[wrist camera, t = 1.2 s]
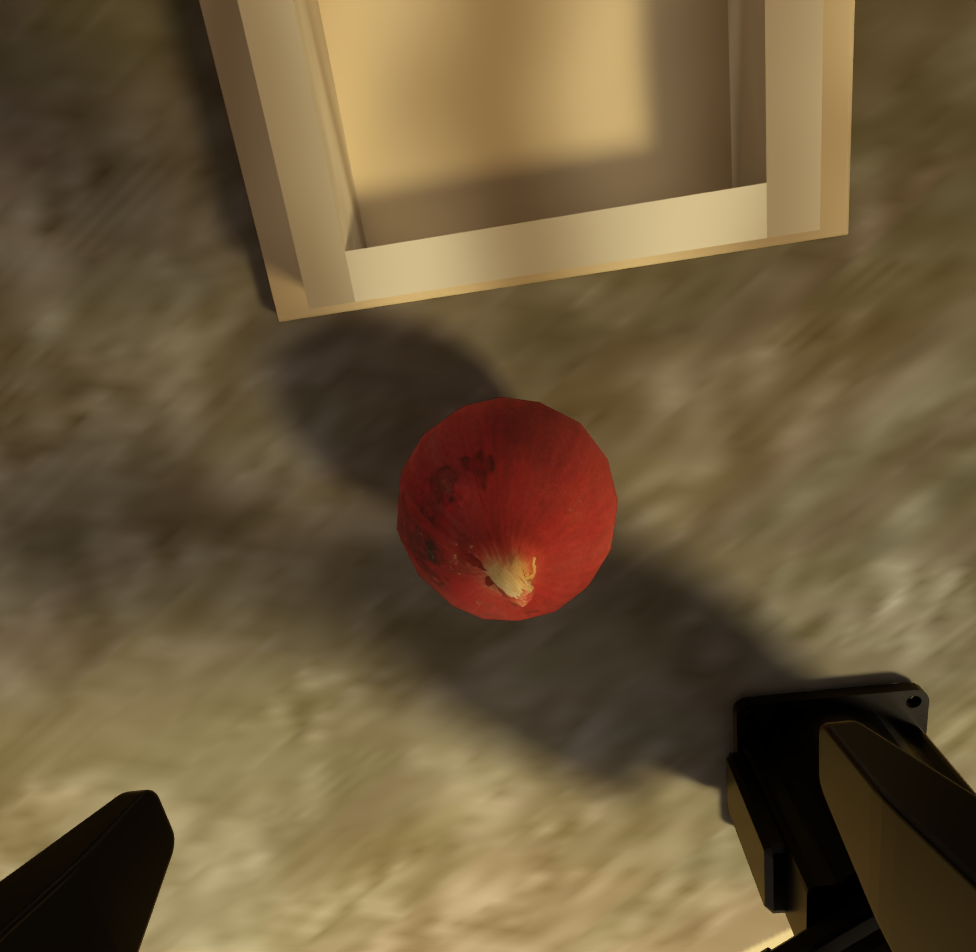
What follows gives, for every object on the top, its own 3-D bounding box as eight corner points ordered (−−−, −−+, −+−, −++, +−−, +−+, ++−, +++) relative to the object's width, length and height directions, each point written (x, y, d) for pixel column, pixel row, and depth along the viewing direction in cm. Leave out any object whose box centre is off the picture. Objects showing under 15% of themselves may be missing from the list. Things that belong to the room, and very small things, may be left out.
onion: (415, 536, 22) (358, 687, 14) (423, 367, 20) (363, 437, 12) (586, 553, 22) (622, 714, 14) (611, 384, 20) (668, 465, 12)
